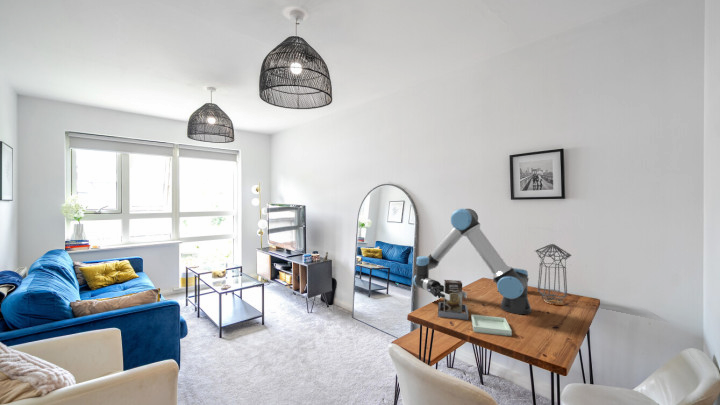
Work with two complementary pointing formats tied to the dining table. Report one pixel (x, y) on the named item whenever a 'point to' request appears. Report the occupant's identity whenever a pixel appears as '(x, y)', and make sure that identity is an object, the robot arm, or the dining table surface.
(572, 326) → the dining table surface
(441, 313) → the frame
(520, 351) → the dining table surface
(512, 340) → the dining table surface
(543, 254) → the geometric lantern
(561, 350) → the dining table surface
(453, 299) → the coffee box
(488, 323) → the tray
